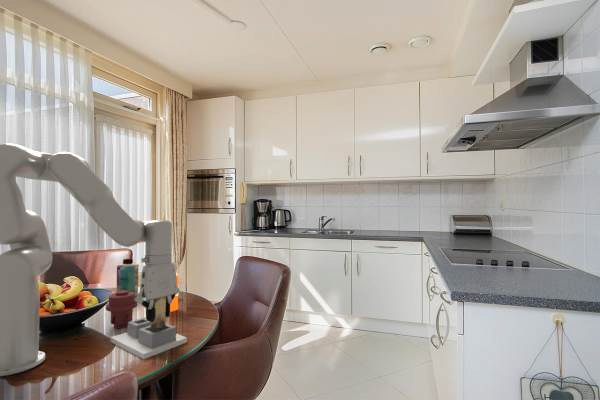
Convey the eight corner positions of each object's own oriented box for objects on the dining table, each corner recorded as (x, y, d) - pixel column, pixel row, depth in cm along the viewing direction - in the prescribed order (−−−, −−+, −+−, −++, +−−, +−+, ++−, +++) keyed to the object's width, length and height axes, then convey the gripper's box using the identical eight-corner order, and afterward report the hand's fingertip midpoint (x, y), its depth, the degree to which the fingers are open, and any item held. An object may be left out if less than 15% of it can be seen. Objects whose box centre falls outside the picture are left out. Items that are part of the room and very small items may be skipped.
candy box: (138, 294, 157) (139, 263, 157) (134, 297, 152) (134, 265, 153) (120, 294, 156) (121, 263, 157) (115, 297, 152) (116, 265, 153)
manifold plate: (143, 359, 89) (143, 339, 89) (110, 342, 100) (110, 324, 101) (186, 342, 100) (186, 324, 100) (152, 328, 112) (152, 312, 112)
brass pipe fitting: (155, 329, 95) (155, 295, 95) (147, 326, 97) (147, 293, 97) (168, 324, 98) (169, 292, 98) (161, 322, 101) (161, 290, 101)
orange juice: (161, 314, 127) (162, 264, 127) (148, 310, 131) (149, 262, 132) (178, 309, 133) (179, 262, 134) (165, 306, 138) (166, 260, 139)
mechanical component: (143, 321, 119) (123, 331, 109) (120, 320, 121) (98, 329, 111) (143, 288, 119) (123, 296, 109) (120, 287, 121) (99, 294, 111)
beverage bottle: (120, 301, 145) (121, 258, 145) (136, 300, 147) (137, 257, 147) (116, 305, 138) (117, 260, 139) (133, 304, 140) (134, 259, 141)
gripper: (138, 264, 89) (137, 329, 89) (189, 257, 103) (189, 313, 102) (125, 262, 94) (124, 324, 93) (175, 255, 107) (175, 309, 107)
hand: (158, 317), depth 98 cm, fingers closed on brass pipe fitting, 4 cm apart
